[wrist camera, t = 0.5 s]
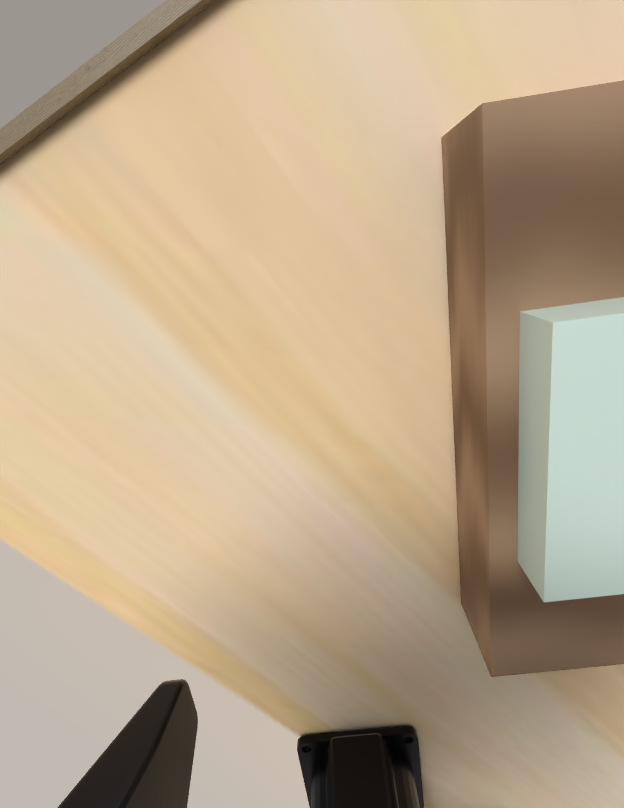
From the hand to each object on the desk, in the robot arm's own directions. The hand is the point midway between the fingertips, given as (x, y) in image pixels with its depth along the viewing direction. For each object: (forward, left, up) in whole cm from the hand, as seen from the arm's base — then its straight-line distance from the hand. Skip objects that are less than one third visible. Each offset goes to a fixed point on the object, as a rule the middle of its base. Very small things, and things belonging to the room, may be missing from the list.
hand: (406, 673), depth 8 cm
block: (0, -8, -8) cm, 11 cm away
